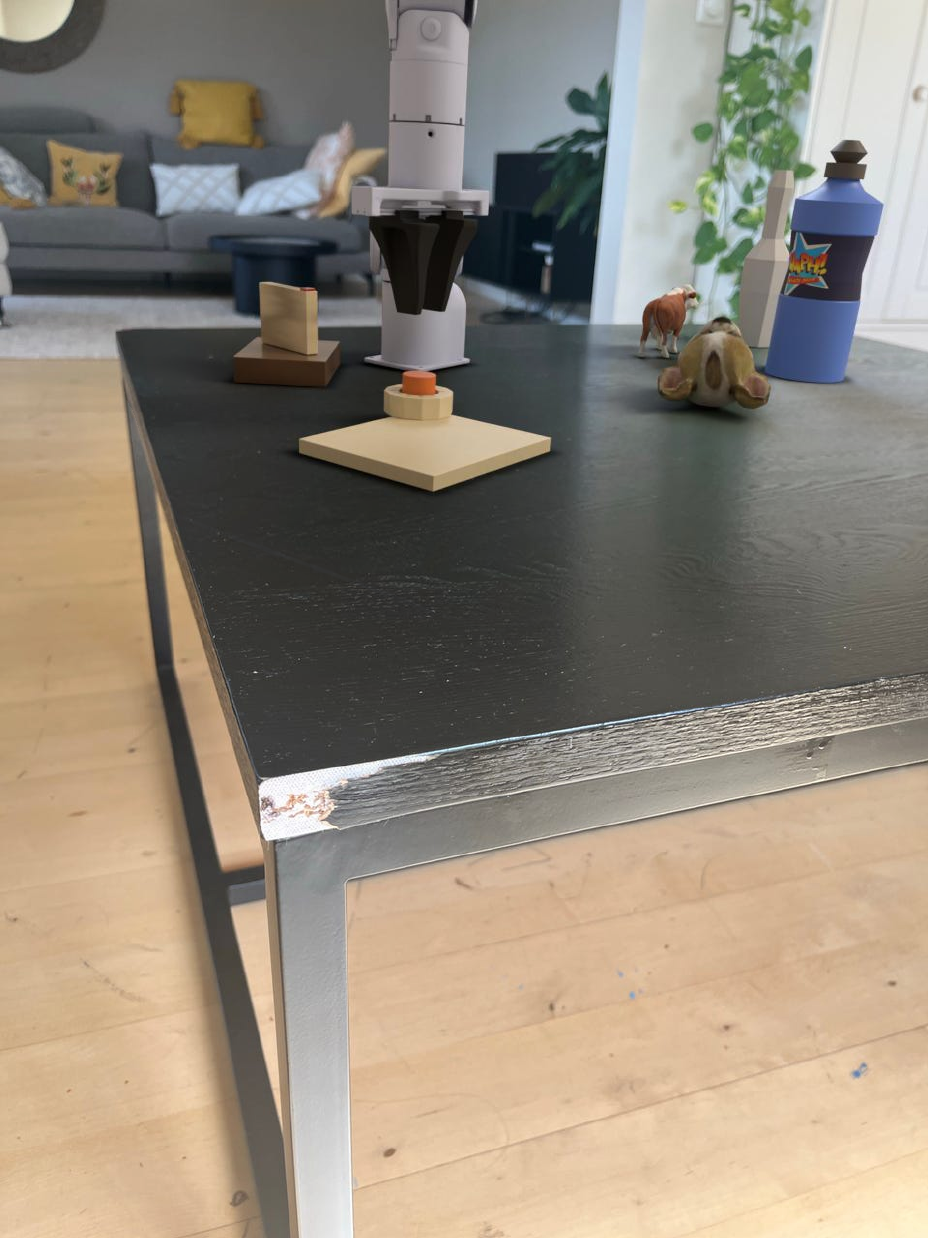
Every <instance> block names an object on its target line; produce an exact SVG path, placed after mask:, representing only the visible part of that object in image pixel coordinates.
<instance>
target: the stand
mask: <svg viewBox="0 0 928 1238" xmlns="http://www.w3.org/2000/svg"><path fill="white" fill-rule="evenodd" d="M340 365H341V341H340V340H324V339H323V340H321V339H318V354H310V355H306V354H302V353H299V352H295V351H291V350H288V349H284V348H280V347H277V346H273V345H269V344H266V343H262V339H261V336H256V337H255V338H254V339H253V340H251V341H250V342H249V343H248V344H247V345H246V346H244V347H243V348H242V349H241V350H239V351H238V352H237V353H236V354H234V355H233V356H232V369H233V371H232V372H233V383H236V384H253V385H254V384H255V385H256V384H257V385H274V386H291V387H293V386H294V387H311V388H312V387H313V388H315V387H326V386H328V384H329V382H330V381H331V379H332V378H333V376H334V375H335V373H336V372H337V370H338V368H340Z"/></svg>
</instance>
